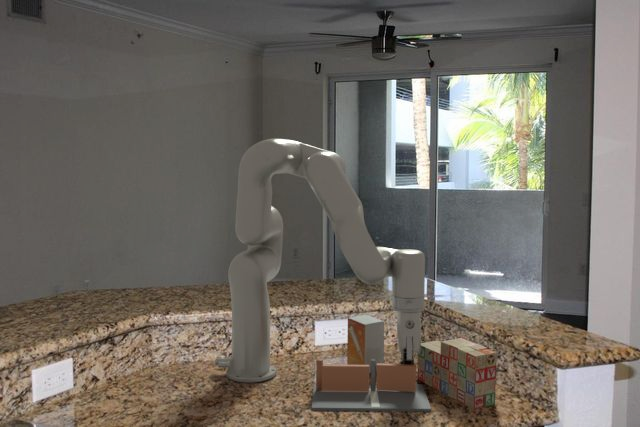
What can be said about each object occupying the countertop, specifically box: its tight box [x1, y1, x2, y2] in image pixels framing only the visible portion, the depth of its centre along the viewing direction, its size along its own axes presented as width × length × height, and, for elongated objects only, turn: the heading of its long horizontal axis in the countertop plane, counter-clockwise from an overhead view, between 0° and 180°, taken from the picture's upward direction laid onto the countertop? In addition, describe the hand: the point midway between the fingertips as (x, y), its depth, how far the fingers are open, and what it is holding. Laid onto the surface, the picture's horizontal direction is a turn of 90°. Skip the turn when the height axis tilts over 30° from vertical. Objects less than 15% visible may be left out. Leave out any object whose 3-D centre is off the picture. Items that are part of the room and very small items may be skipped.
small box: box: [346, 314, 385, 374], centre depth 170 cm, size 8×6×13 cm
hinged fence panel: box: [370, 359, 417, 392], centre depth 152 cm, size 10×1×7 cm, turn 84°
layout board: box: [311, 382, 432, 412], centre depth 150 cm, size 26×15×1 cm, turn 89°
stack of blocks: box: [416, 337, 498, 410], centre depth 153 cm, size 21×6×12 cm, turn 28°
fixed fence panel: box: [315, 358, 370, 391], centre depth 152 cm, size 12×2×7 cm, turn 89°
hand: (407, 378), depth 155 cm, fingers closed
